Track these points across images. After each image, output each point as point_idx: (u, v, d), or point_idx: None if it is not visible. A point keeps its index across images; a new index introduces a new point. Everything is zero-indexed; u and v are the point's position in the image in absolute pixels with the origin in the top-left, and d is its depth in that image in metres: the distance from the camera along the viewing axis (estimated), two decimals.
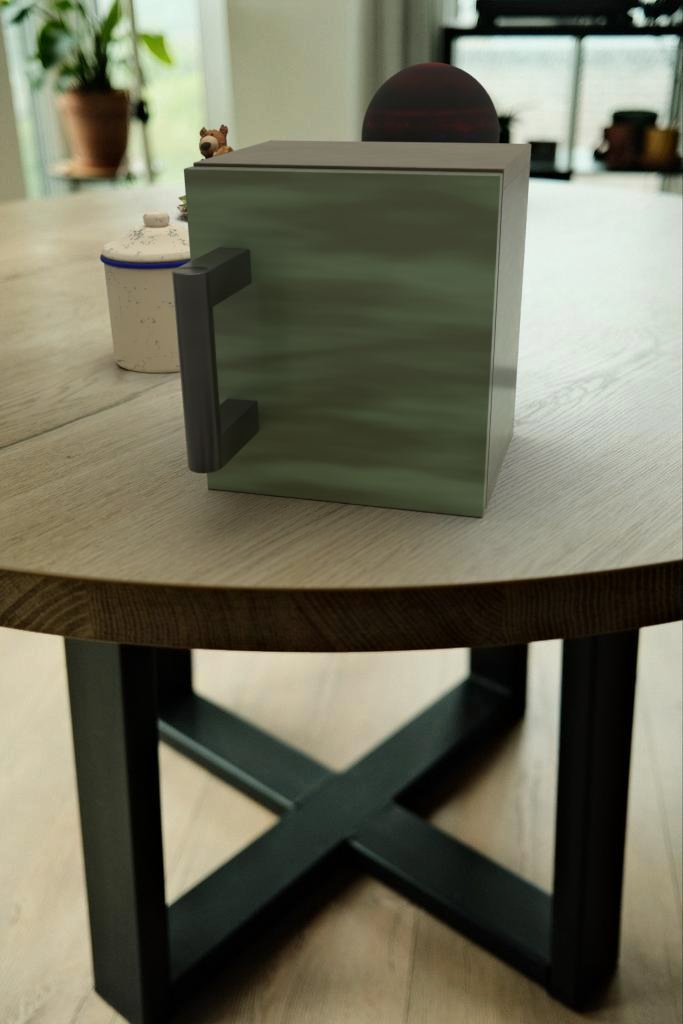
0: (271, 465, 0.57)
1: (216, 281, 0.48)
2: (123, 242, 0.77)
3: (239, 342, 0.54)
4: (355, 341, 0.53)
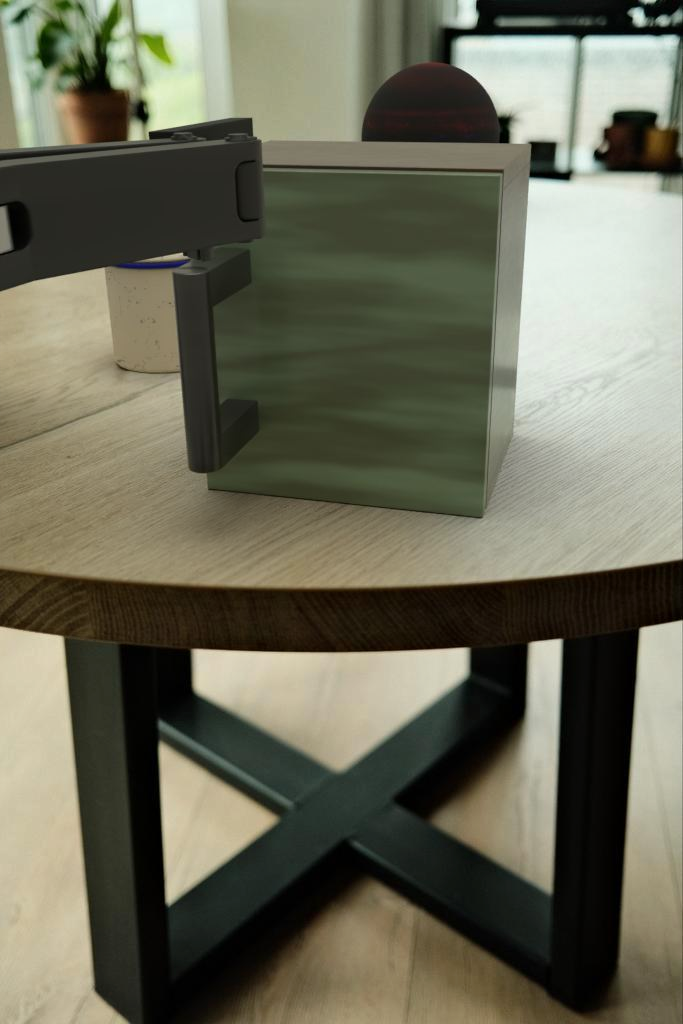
0: (271, 465, 0.57)
1: (216, 281, 0.48)
2: None
3: (239, 342, 0.54)
4: (355, 341, 0.53)
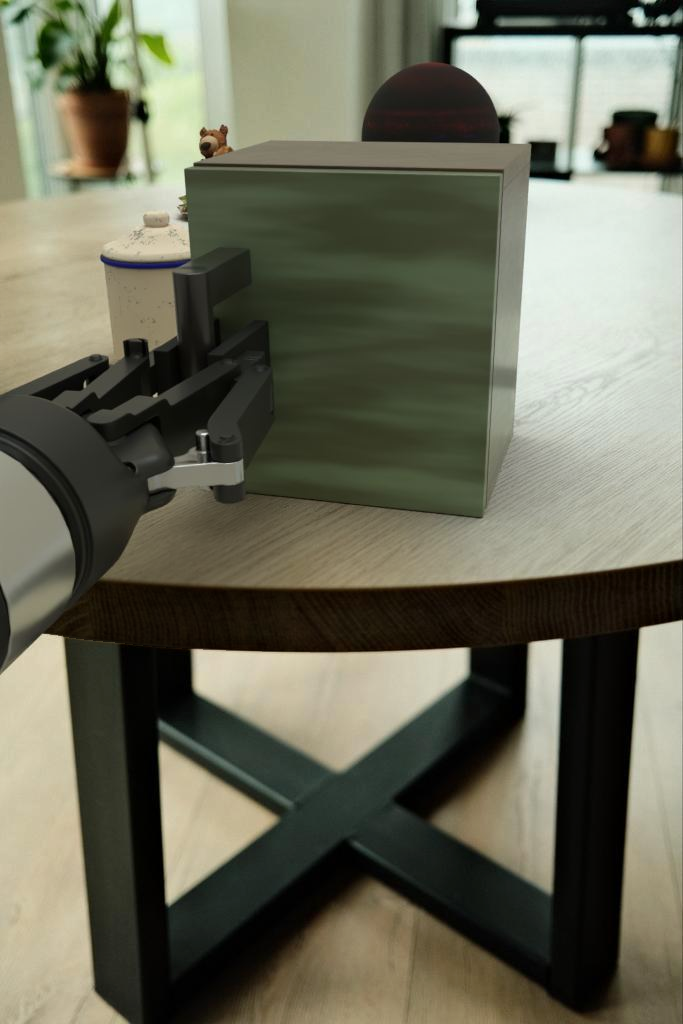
0: (271, 465, 0.57)
1: (216, 281, 0.48)
2: (123, 242, 0.77)
3: None
4: (355, 341, 0.53)
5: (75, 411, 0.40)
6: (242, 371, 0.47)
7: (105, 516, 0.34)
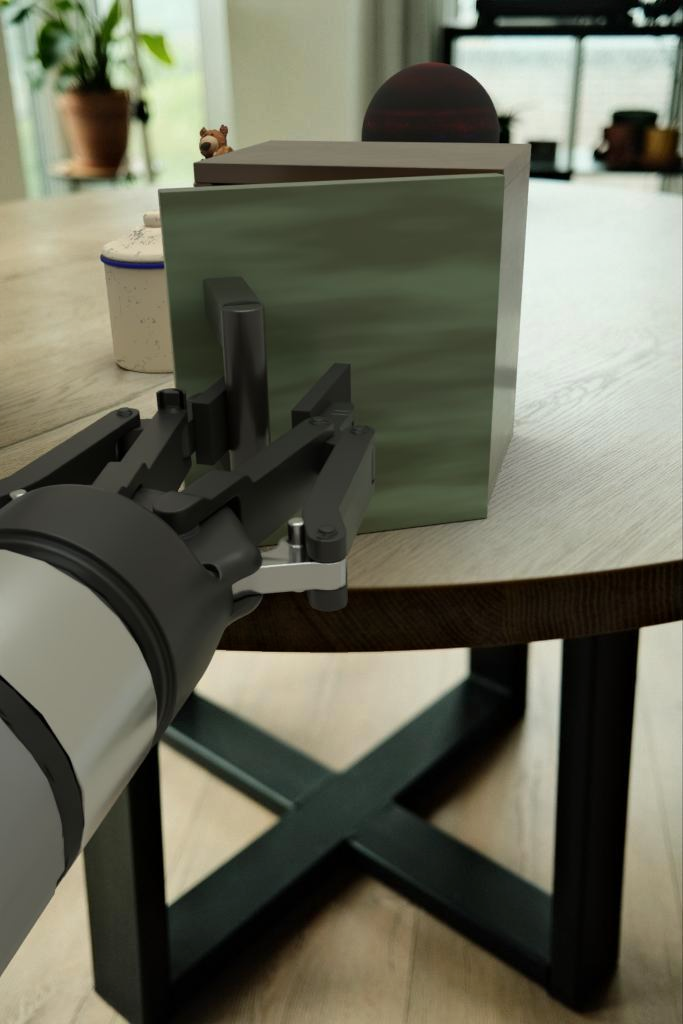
0: None
1: None
2: (123, 242, 0.77)
3: None
4: (360, 362, 0.49)
5: (129, 490, 0.33)
6: (335, 431, 0.40)
7: (189, 642, 0.27)
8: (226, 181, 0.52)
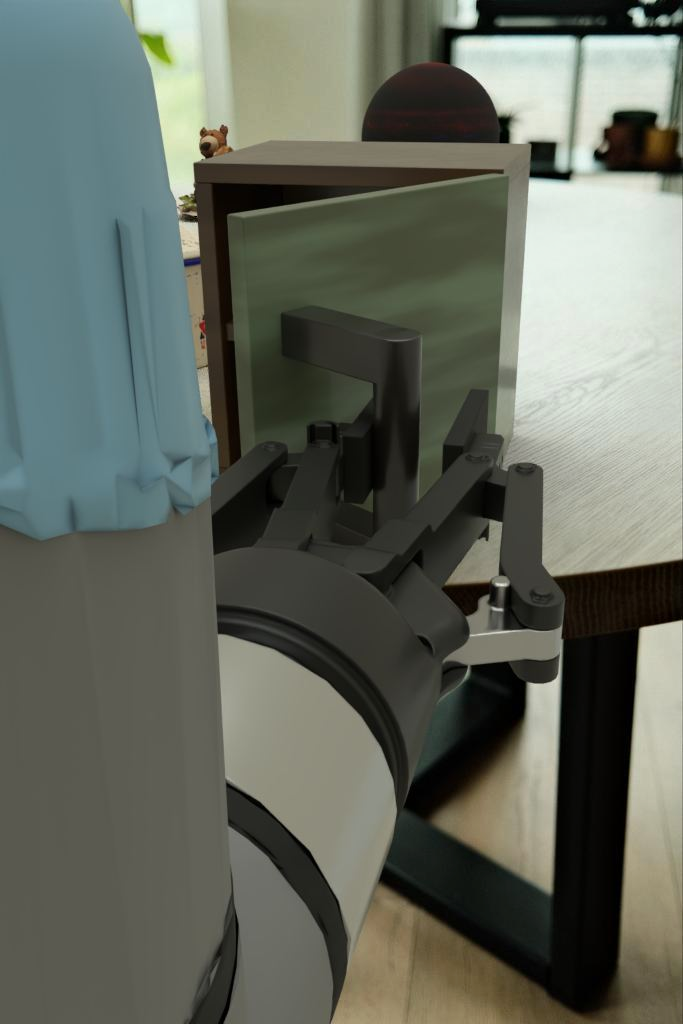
0: None
1: None
2: None
3: (301, 425, 0.43)
4: None
5: (304, 543, 0.29)
6: (492, 468, 0.36)
7: (416, 734, 0.23)
8: (226, 181, 0.52)
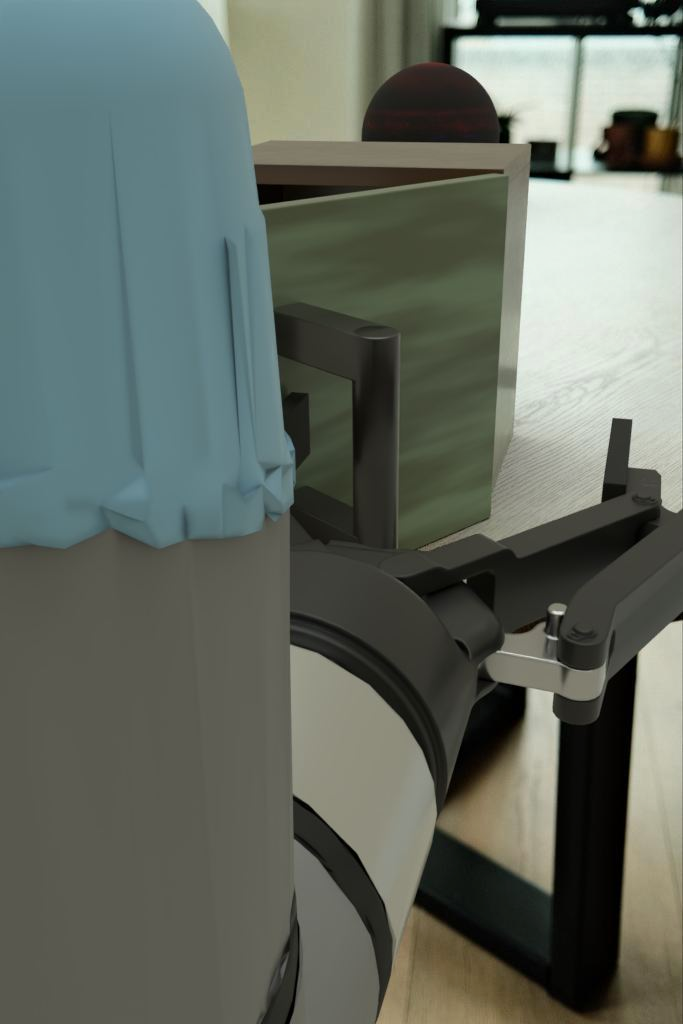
0: None
1: None
2: None
3: None
4: None
5: None
6: (663, 513, 0.33)
7: (455, 738, 0.23)
8: None
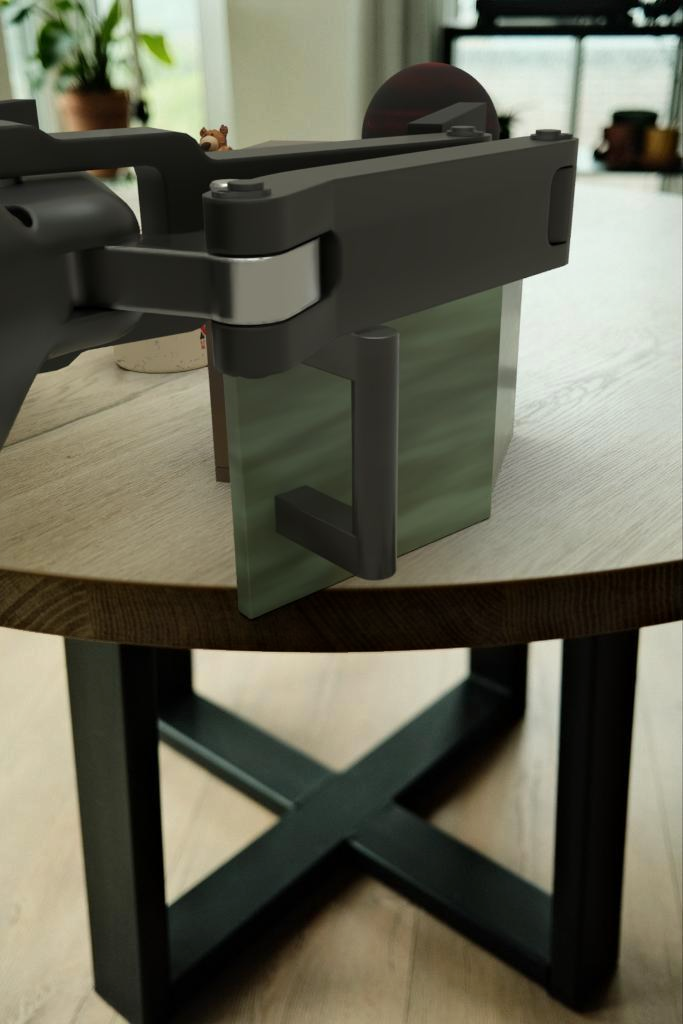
0: (319, 555, 0.47)
1: None
2: None
3: (288, 421, 0.43)
4: None
5: None
6: None
7: None
8: None
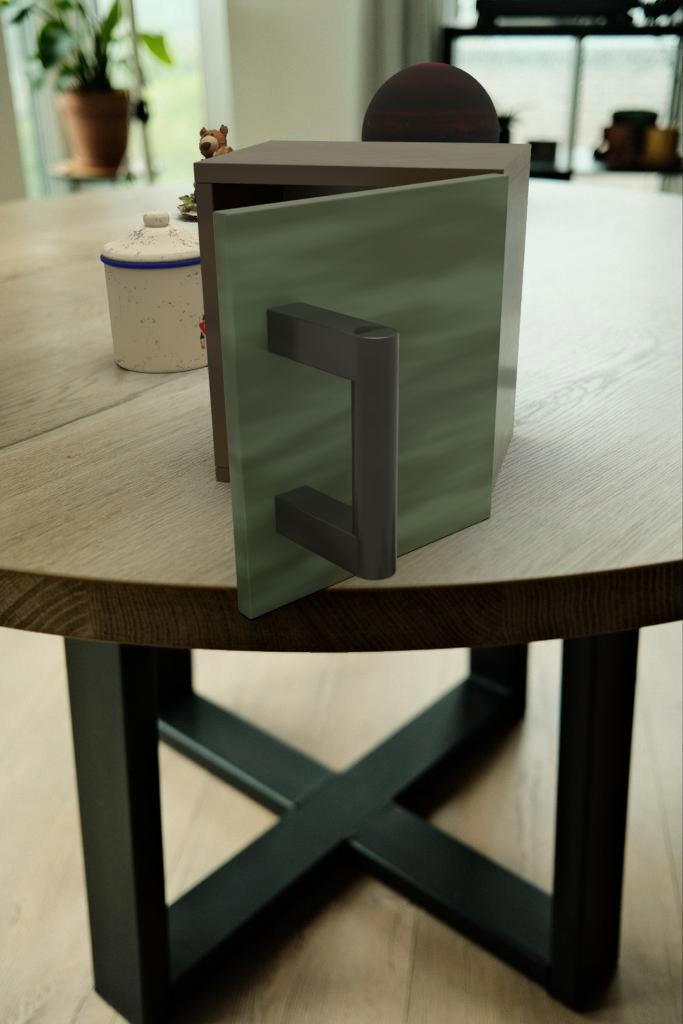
0: (319, 555, 0.47)
1: None
2: (123, 242, 0.77)
3: (288, 421, 0.43)
4: None
5: None
6: None
7: None
8: (226, 181, 0.52)
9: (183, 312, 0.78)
